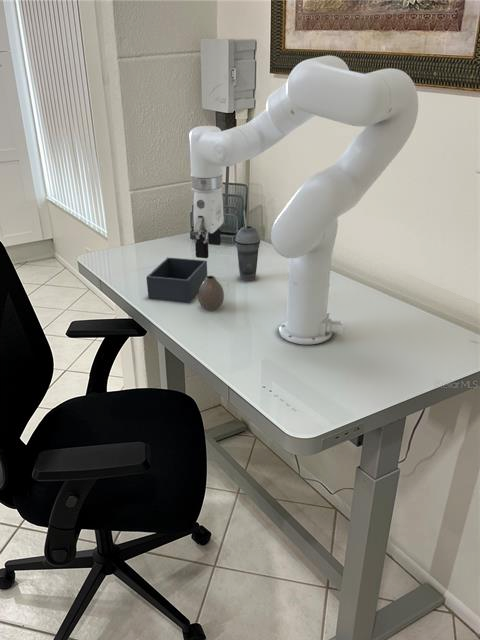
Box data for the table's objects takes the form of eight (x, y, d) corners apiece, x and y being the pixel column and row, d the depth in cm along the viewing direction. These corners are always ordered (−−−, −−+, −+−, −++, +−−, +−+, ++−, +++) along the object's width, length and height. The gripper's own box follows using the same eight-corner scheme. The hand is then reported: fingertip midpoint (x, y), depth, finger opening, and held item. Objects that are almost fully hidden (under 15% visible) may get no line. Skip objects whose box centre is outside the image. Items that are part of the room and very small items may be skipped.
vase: (224, 312, 155) (223, 281, 151) (198, 313, 156) (197, 282, 151) (223, 301, 161) (223, 271, 156) (198, 302, 161) (197, 272, 157)
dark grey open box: (207, 281, 174) (206, 260, 170) (189, 303, 162) (188, 280, 158) (168, 278, 178) (167, 257, 174) (148, 298, 166) (146, 276, 162)
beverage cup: (251, 285, 170) (251, 216, 159) (230, 280, 174) (229, 212, 163) (264, 276, 175) (265, 209, 164) (244, 272, 179) (243, 206, 168)
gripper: (210, 192, 133) (211, 264, 142) (232, 174, 147) (232, 240, 156) (179, 191, 135) (182, 261, 145) (204, 172, 149) (205, 238, 158)
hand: (208, 250), depth 150 cm, fingers open, 9 cm apart
